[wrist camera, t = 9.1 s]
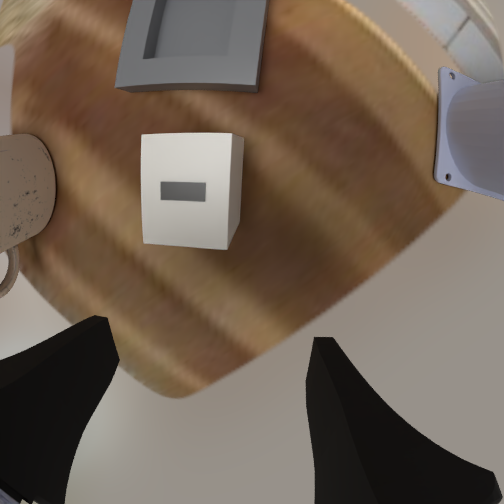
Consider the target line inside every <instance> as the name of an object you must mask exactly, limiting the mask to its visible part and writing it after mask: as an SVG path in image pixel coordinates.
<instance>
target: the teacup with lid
mask: <svg viewBox="0 0 504 504" xmlns="http://www.w3.org/2000/svg"><path fill="white" fill-rule="evenodd" d="M55 193H56V183H55V173H54V168H53V164H52V161H51V158H50V155H49V153H48V151H47V149H46V147H45V146H44V144H43V143H42V142H41V141H40V140H39V139H38V138H36V137H35V136H33V135H30V134H16V135H6V136H0V253H2V252H4V251H6V250H7V251H8V258H9V265H8V270H7V274H6V276H5V278H4V280H3V281H2V283H1V284H0V298H2V297H3V296H5V295H6V294H7V293H8V292H9V291H10V289H11V288H12V287H13V285H14V283H15V281H16V278H17V275H18V272H19V264H20V260H19V251H18V245H17V244H19V243H21V242H23V241H24V240H26V239H28V238H30V237H32V236H34V235H36V234H38V233H39V232H41V231H42V230H43V229H44V227H45V226H46V225H47V223H48V221H49V219H50V217H51V214H52V211H53V207H54V202H55Z"/></svg>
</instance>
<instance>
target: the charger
mask: <svg viewBox="0 0 504 504" xmlns="http://www.w3.org/2000/svg"><path fill="white" fill-rule="evenodd" d="M243 152H244V138H243V137H240V136H238V135H235V134H233V133H167V134H146V135H142V139H141V205H142V228H143V243H146V244H158V245H170V246H183V247H195V248H208V249H220V250H227V249H228V247H229V245H230V242H231V240H232V238H233V236H234V234H235V231H236V229H237V227H238V225H239V223H240V208H241V188H242V170H243Z"/></svg>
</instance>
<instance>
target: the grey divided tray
mask: <svg viewBox="0 0 504 504" xmlns="http://www.w3.org/2000/svg"><path fill="white" fill-rule="evenodd" d="M268 6H269V0H133V3H132V6H131V10H130V14H129V18H128V21H127V25H126V30H125V34H124V38H123V43H122V48H121V53H120V58H119V63H118V69H117V75H116V82H115V88H118V89H121V90H124V91H128V92H143V91H161V90H221V91H239V92H252V93H258V85H259V77H260V69H261V61H262V53H263V45H264V37H265V29H266V21H267V14H268Z"/></svg>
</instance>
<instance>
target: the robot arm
mask: <svg viewBox="0 0 504 504" xmlns="http://www.w3.org/2000/svg"><path fill="white" fill-rule="evenodd" d="M449 74H451V75H452V79H451V77H450V75H449ZM438 86H439V112H438V136H437V150H436V161H435V170H434V178H435V180H436V181H437V182H438V183H442V184H446V185H450V186H454V187H458V188H462V189H465V190H469V191H473V192H476V193H480V194H483V195H487V196H490V197H493V198H497V199H500V200H503V201H504V80H499V81H493V82H488V83H482V84H481V83H480V82H478V81H476V80H474V79H472V78H469V77H467V76H465V75H463V74H461V73H459V72H456V71H454V70H452V69H450V68H447V67H441V68H439V70H438ZM446 174H448V179H447V180H446V178H445V176H446ZM119 361H120V359H119V356H118V353H117V350H116V346H115V343H114V340H113V336H112V333H111V329H110V325H109V322H108V318H107V317H101V316H96V315H94V316H92V317H89V318H87V319H85V320H83V321H81V322H79V323H77V324H75V325H73V326H71V327H69V328H67V329H65V330H64V331H62V332H60V333H58V334H56V335H54V336H52V337H51V338H49V339H47V340H45V341H43V342H41V343H39V344H37V345H35V346H33V347H31V348H29V349H27V350H24V351H22V352H20V353H18V354H15V355H13V356H10V357H7V358H5V359H2V360H0V504H20V503H21V501H22V499H23V500H25V501H26V502H27V503H29V504H32V503H33V501H35V502H36V503H38V504H64V503H65V496H66V495H65V494H66V488H67V483H68V479H69V474H70V470H71V466H72V463H73V459H74V456H75V453H76V450H77V447H78V444H79V442H80V439H81V437H82V434H83V432H84V430H85V427H86V425H87V423H88V422H89V420H90V418H91V416H92V414H93V413H94V411H95V409H96V407H97V406H98V404H99V402H100V400H101V399H102V397H103V395H104V393H105V392H106V390H107V388H108V386H109V385H110V383H111V381H112V378H113V376H114V374H115V371H116V368H117V366H118V363H119ZM306 407H307V415H308V422H309V429H310V436H311V443H312V450H313V458H314V467H315V504H498V503H499V502H500V501H501V499H502V494H501V491H500V488H499V485H498V483H497V480H496V477H495V475H494V473H493V472H492V471H489V470H487V469H484V468H482V467H479V466H477V465H474V464H472V463H470V462H468V461H465V460H463V459H461V458H460V457H457V456H456V455H454V454H452V453H450V452H449V451H447V450H445V449H443V448H442V447H440V446H439V445H437V444H435V443H434V442H433V441H431V440H430V439H428V438H427V437H426V436H424V435H423V434H421V433H420V432H418V431H417V430H416V429H415V428H413V427H412V426H411V425H410V424H408V423H407V422H406V421H405V420H404V419H403V418H402V417H400V416H399V415H398V414H397V413H396V412H395V411H394V410H393V409H392V408H391V407H390V406H389V405H387V403H386V402H385V401H384V400H383V399H382V398H381V397H380V396H379V395H378V394H377V393H376V392H375V391H374V389H373V388H372V387H371V386H370V385H369V384H368V382H367V381H366V380H365V379H364V378H363V377H362V375H361V374H360V373H359V371H358V370H357V369H356V368H355V366H354V365H353V364H352V363H351V361H350V360H349V359H348V357H347V356H346V354H345V353H344V352H343V350H342V349H341V348H340V346H339V345H338V343H337V342H336V341H335V339H334V338H333V337H314V341H313V346H312V352H311V357H310V362H309V367H308V372H307V377H306Z"/></svg>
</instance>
